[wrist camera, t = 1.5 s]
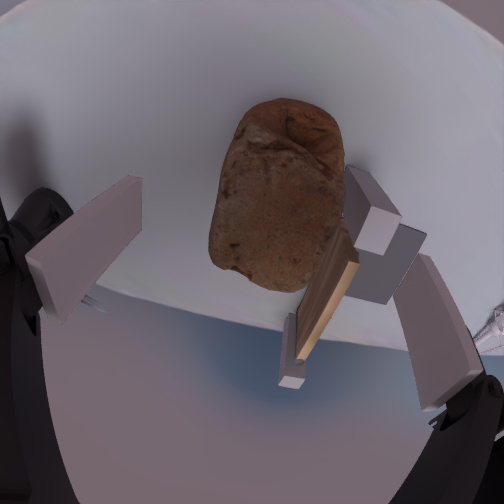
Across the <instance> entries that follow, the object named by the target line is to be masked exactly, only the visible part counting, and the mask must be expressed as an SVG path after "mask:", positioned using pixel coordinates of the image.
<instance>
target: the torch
mask: <svg viewBox="0 0 504 504" xmlns="http://www.w3.org/2000/svg"><path fill="white" fill-rule="evenodd" d="M496 311H499V312H500V316H498V317H496ZM495 317H496V318H495V321H493V322H491V325H490V328H489V331H488V332H487V333H485V334H484V335H483V336H481V337H480V338H479V339H477V340H476V341H474V343H475V345H476V346H478V345H479V344H481V343H482V342H483V341H485V340H486V339H488V338H489V337H490V336H497V337H498V341H499V347H496V348H493V349H490V350H487V351H484V352H481V353H479V355H481V354H484V353H487V352H490V351H493V350H496V349H499V348H502V347H504V345H502V346H501V342H500V337H499V335H500V334H501V333H502V334H503V335H504V329H503V328H504V326H502V324H501V322H500V321H502V320H504V311H502V310H495Z"/></svg>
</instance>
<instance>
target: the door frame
mask: <svg viewBox="0 0 504 504" xmlns="http://www.w3.org/2000/svg"><path fill="white" fill-rule="evenodd" d="M343 178H344V183H345V186H346V198H345V204H344V208H343V215H344V218H345V221H346V224H347V227H348V230H349V234H350V237H351V240H352V243H353V247H356V248H359V249H362V250H366V251H369V252H373V253H376V254H379V255H384V253H385V251H386V249H387V247H388V245H389V243H390V241H391V239H392V237H393V235H394V233H395V231H396V229H397V227H398V225H399V223H400V221H401V218H402V216H401V214H400V213H399V211H398V210H397V208H396V207H395V206H394V204H393V203H392V202H391V200H390V199H389V197H388V196H387V195H386V193H385V192H384V191H383V189H382V188H381V187H380V186H379V184H378V183H377V182H376V180H375V179H374V178H373V177H372V175H371V174H370V173H368V172H366V171H363V170H360V169H357V168H354V167H351V166H348V165H347V167H346V170H345V173H344V175H343ZM295 335H296V315H295V314H291V313H289V315H288V317H287V319H286V322H285V324H284V332H283V343H282V353H281V364H280V374H279V383H278V385H279V386H284V387H290V388H295V389H299V387H300V386H301V385H302V383H303V382H304V381H305V379H306V359H305V361H304V364H303V365H296V364H295V363H294V354H295Z"/></svg>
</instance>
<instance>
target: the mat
mask: <svg viewBox="0 0 504 504" xmlns="http://www.w3.org/2000/svg"><path fill="white" fill-rule="evenodd" d="M426 236H427V234H426V233H424V232H421V231H418V230H416V229H413V228H410V227H408V226H405V225H402V224H399V225H398V227H397V229H396V231H395V233H394V235H393V237H392V239H391V241H390V243H389V245H388V247H387V249H386V251H385V253H384V255H379V254H376V253H373V252H369V251H366V250H362V249H359V248H356V247H355V249H356V251H357V252H359V258H358V259H359V262H360V265H359V267H358V269H357V271H356V273H355V275H354V277H353V279H352V281H351V283H350V285H349V286H348V288H347V290H346V292H345V294H344V295H345V296H350V297H354V298H358V299H363V300H367V301H371V302H376V303H380V304H384V305H386V304H387V302H388V301H389V299H390V298H391V296H392V295H393V293H394V292H395V290H396V288H397V287H398V285H399V284H400V282H401V280H402V279H403V277H404V275H405V274H406V272H407V270H408V269H409V267H410V265H411V263H412V262H413V260H414V258H415V256H416V255H417V253H418V251H419V249H420V247H421V245H422V244H423V242H424V240H425V238H426Z"/></svg>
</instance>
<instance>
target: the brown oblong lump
mask: <svg viewBox="0 0 504 504" xmlns="http://www.w3.org/2000/svg"><path fill="white" fill-rule="evenodd" d="M344 155H345V153H344V149H343V142H342V137H341V133H340V130H339V127H338V124H337V122H336V121H335V120H334V118H333V117H332V116H331V115H330V114H328V113H327V112H326V111H324V110H323V109H321V108H319V107H317V106H314V105H312V104H309V103H305V102H302V101H298V100H293V99H285V98H280V99H276V100H272V101H269V102H264V103H261V104H258V105H256V106H254V107H252V108H251V109H250V110H249V111H248V112H247V113H246V114H245V115H244V117H243V118H242V120H241V121H240V123H239V125H238V127H237V130H236V132H235V134H234V138H233V140H232V142H231V144H230V147H229V149H228V152H227V154H226V157H225V160H224V163H223V167H222V171H221V176H220V182H219V189H218V195H217V200H216V205H215V210H214V214H213V218H212V223H211V228H210V233H209V255H210V258H211V260H212V262H213V264H214V265H216V266H218V267H219V268H221V269H223V270H227V269H230V270H232V271H233V270H235V271H237V272H239V273H240V274H242V275H244V276H246V277H247V278H248V279H249V281H251V282H253V283H255V284H257V285H259V286H261V287H263V288H266V289H268V290H274V291H281V292H285V293H292V292H296V291H298V290H301V289H303V288H304V287H305V286H307V285H308V284H310V283H311V282H312V281H313V279H314V277H315V276H316V274H317V273H318V271H319V269H320V268H321V265H322V263H323V260H324V257H325V255H326V253H327V251H328V249H329V247H330V245H331V242H332V240H333V238H334V235H335V233H336V230H337V228H338V225H339V222H340V218H341V215H342V212H343V208H344V204H345V198H346V186H345V183H344V178H343V173H344Z"/></svg>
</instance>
